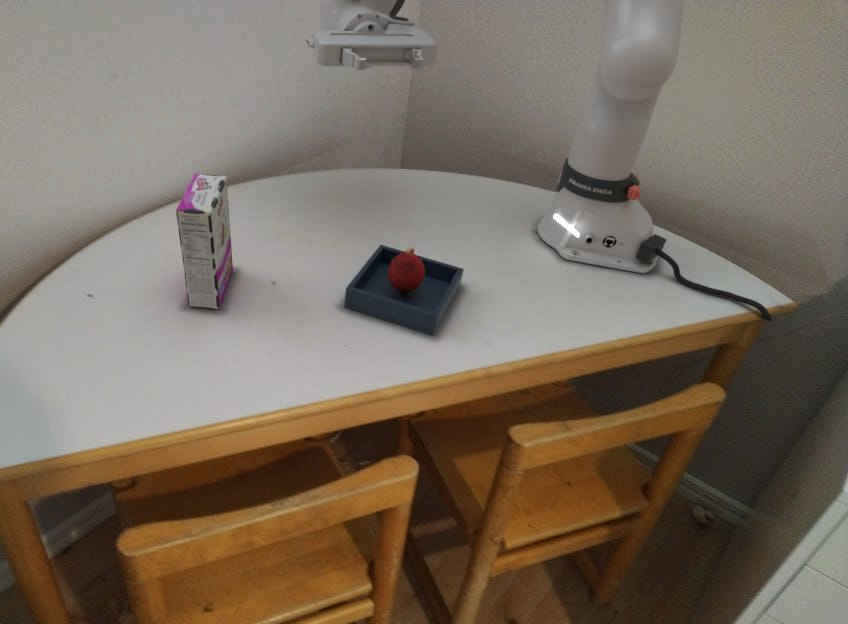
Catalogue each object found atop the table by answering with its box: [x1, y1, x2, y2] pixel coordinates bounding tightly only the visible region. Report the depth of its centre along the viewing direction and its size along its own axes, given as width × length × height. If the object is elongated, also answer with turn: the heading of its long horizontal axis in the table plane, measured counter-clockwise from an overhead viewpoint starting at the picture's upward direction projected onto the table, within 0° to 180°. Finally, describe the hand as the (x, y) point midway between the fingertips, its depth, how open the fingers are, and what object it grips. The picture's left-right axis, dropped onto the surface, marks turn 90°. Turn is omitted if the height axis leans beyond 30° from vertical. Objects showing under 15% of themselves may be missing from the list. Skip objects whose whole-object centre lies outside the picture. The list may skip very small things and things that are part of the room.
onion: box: [388, 247, 425, 293], centre depth 99 cm, size 6×6×8 cm
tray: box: [344, 244, 464, 336], centre depth 101 cm, size 15×15×4 cm
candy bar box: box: [175, 173, 234, 310], centre depth 94 cm, size 11×5×16 cm, turn 179°
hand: (390, 64), depth 98 cm, fingers open, 8 cm apart
